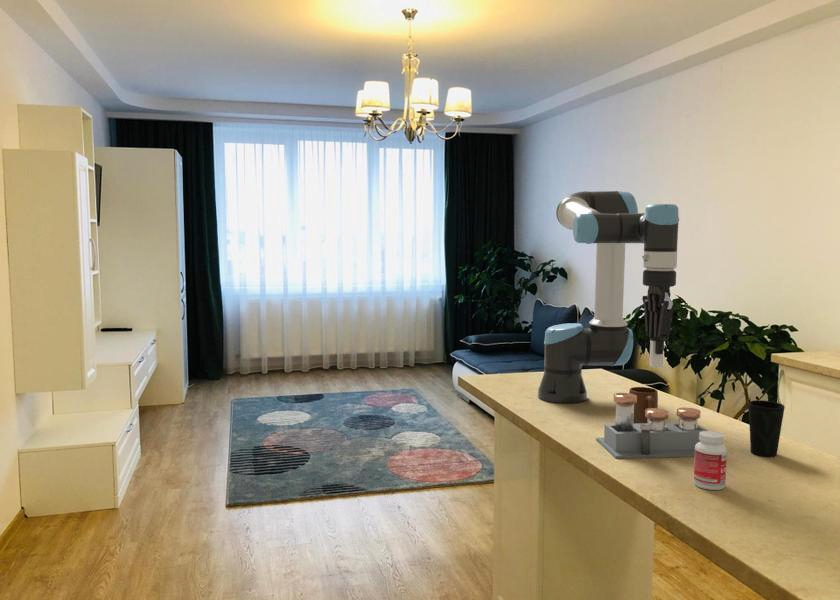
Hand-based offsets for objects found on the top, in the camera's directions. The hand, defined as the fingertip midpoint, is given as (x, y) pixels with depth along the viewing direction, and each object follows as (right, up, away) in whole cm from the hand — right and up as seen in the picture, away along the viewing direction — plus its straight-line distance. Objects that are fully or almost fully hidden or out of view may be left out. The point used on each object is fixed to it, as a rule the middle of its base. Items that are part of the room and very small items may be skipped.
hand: (656, 366), depth 167 cm
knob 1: (-7, -15, +1) cm, 17 cm away
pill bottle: (+3, -23, -23) cm, 32 cm away
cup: (+25, -21, -2) cm, 33 cm away
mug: (+4, -18, +21) cm, 28 cm away
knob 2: (+8, -19, +3) cm, 21 cm away
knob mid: (+1, -19, +2) cm, 19 cm away
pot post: (-4, -20, -4) cm, 21 cm away
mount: (+1, -20, +2) cm, 20 cm away
